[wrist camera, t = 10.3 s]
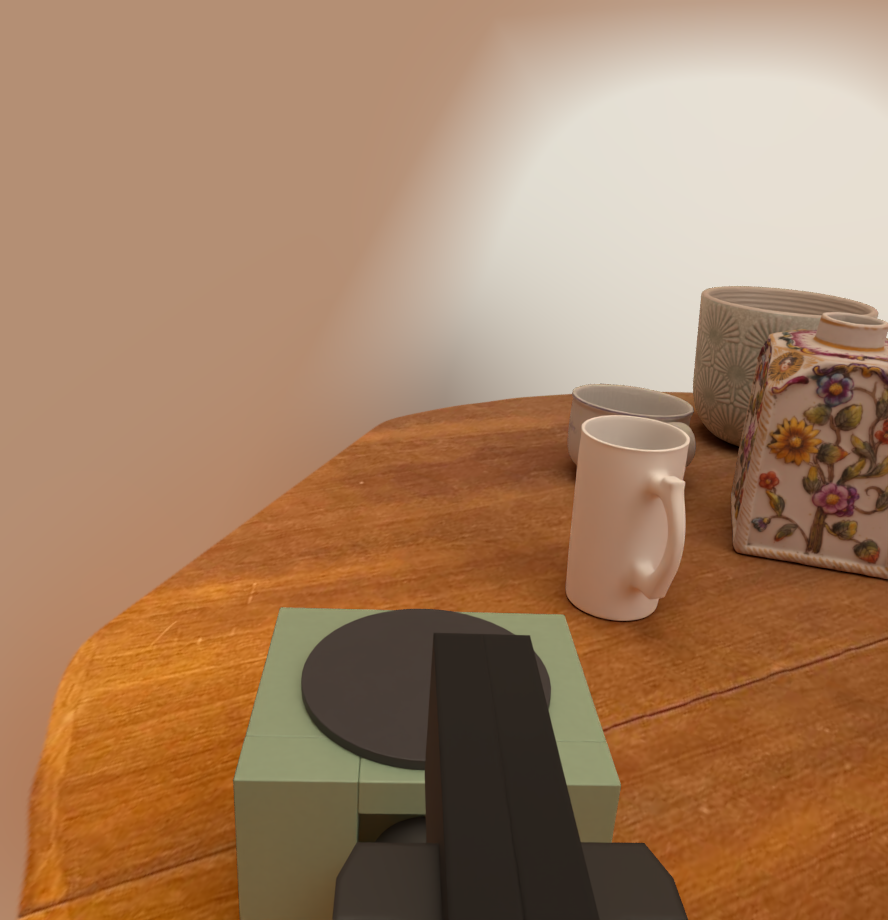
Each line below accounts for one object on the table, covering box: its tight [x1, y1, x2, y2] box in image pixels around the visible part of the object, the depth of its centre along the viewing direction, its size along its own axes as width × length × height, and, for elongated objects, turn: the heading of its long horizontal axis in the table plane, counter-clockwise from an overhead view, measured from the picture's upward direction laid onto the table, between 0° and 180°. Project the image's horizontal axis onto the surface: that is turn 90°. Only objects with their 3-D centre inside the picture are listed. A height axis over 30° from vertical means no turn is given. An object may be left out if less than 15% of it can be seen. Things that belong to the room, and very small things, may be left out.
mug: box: [566, 415, 690, 621], centre depth 53 cm, size 10×7×12 cm, turn 16°
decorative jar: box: [731, 312, 888, 579], centre depth 64 cm, size 12×12×18 cm
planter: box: [693, 286, 878, 447], centre depth 87 cm, size 17×17×15 cm
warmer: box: [233, 607, 621, 920], centre depth 32 cm, size 12×10×10 cm
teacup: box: [568, 384, 696, 468], centre depth 74 cm, size 14×11×8 cm
